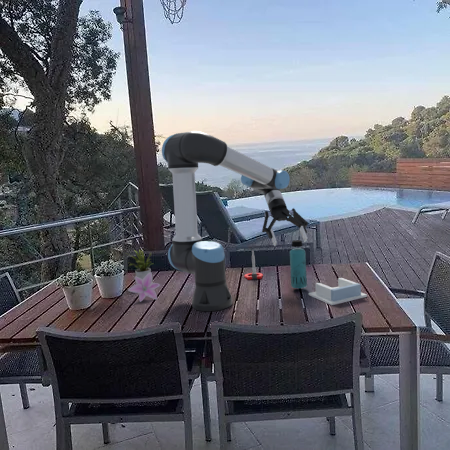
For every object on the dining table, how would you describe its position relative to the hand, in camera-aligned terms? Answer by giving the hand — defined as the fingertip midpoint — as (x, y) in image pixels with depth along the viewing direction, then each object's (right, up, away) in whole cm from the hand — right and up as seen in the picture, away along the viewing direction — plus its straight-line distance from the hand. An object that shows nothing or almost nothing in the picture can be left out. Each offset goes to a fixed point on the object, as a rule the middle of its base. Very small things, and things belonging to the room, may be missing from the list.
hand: (290, 242), depth 179 cm
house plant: (-66, -20, +22) cm, 72 cm away
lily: (-60, -23, -2) cm, 64 cm away
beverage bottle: (+3, -19, -5) cm, 20 cm away
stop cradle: (+15, -19, -16) cm, 30 cm away
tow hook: (-14, -17, +18) cm, 28 cm away
